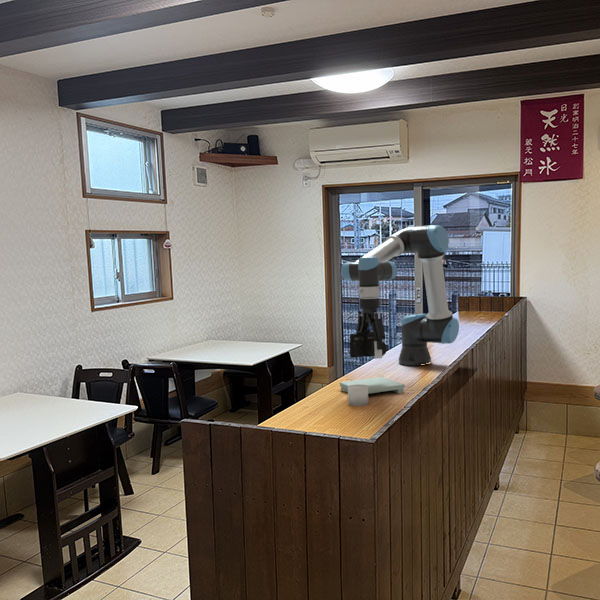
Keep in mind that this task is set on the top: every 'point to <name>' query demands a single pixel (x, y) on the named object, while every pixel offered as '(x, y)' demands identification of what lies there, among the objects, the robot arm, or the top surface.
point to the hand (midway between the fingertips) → (370, 356)
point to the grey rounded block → (358, 395)
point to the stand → (375, 385)
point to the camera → (364, 344)
